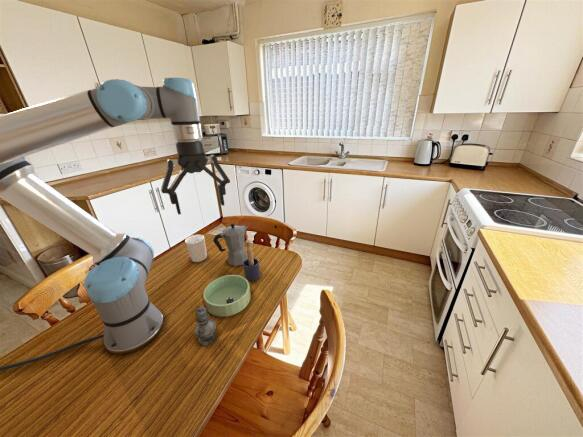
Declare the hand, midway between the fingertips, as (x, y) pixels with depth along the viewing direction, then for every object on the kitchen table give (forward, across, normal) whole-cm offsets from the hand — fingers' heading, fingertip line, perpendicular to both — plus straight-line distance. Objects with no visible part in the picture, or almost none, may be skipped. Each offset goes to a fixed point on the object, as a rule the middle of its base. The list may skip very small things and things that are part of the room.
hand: (201, 208), depth 77 cm
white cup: (+32, -1, +22) cm, 39 cm away
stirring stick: (+31, +14, -4) cm, 34 cm away
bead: (+29, +2, -13) cm, 32 cm away
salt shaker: (+32, -8, -22) cm, 39 cm away
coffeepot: (+31, +12, +10) cm, 35 cm away
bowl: (+31, +2, -11) cm, 33 cm away
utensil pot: (+31, +14, -4) cm, 34 cm away
